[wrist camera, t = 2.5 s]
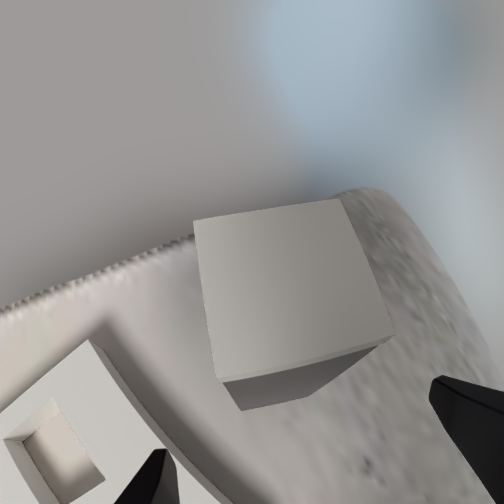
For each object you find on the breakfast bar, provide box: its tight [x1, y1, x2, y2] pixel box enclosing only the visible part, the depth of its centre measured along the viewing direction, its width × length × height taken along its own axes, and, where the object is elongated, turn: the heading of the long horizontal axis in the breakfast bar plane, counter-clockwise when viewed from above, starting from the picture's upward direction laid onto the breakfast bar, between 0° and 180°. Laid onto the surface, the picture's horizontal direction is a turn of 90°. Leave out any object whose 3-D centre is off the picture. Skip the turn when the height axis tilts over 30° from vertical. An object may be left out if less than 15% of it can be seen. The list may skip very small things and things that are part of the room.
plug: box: [193, 198, 396, 411], centre depth 14 cm, size 5×5×14 cm
